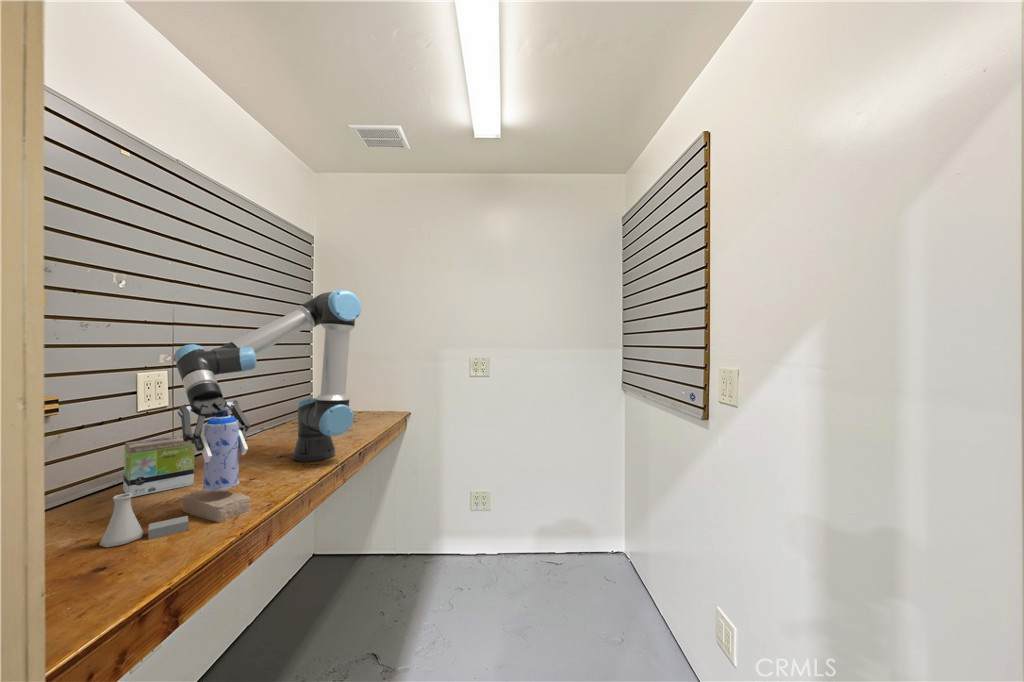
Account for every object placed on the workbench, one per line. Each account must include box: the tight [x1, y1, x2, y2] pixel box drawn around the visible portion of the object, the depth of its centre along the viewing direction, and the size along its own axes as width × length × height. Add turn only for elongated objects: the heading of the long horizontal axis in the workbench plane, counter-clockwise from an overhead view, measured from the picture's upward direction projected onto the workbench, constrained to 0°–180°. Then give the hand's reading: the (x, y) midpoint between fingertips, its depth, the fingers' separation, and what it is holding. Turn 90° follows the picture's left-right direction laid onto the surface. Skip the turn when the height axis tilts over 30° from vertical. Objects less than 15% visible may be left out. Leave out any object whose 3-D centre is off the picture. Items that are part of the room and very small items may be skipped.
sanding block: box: [147, 515, 189, 541], centre depth 93 cm, size 7×4×2 cm, turn 131°
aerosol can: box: [202, 410, 240, 491], centre depth 106 cm, size 8×8×20 cm
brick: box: [182, 489, 252, 523], centre depth 105 cm, size 17×8×5 cm, turn 66°
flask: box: [99, 493, 145, 548], centre depth 89 cm, size 7×7×10 cm
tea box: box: [122, 434, 196, 499], centre depth 122 cm, size 15×10×15 cm
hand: (227, 455), depth 104 cm, fingers open, 8 cm apart
